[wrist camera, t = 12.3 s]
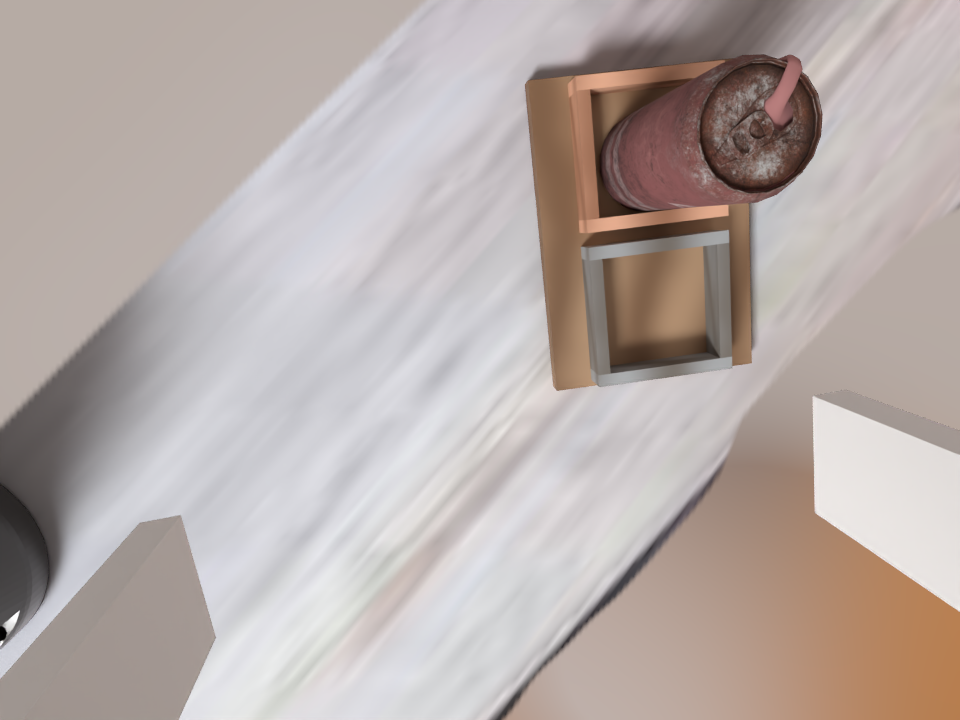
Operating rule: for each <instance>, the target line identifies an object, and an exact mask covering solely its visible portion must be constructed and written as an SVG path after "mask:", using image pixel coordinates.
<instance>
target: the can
mask: <svg viewBox="0 0 960 720" xmlns="http://www.w3.org/2000/svg"><path fill="white" fill-rule="evenodd" d="M821 128H822V110H821V105H820V101H819V96H818V93H817V91H816V90H815V88H814V86H813V85H812V83H811V81H810V80H809V78H808V76H806V75H805V74H804V73H803V72H802V65H801V61H800V60H799V59H798V58H797V57H795V56H793V55H787V56H784V57H782V58H780V59H777V58H773V57H770V56H767V55H742V56H739V57H737V58H734V59H731V60H729V61H726V62H724V63H721V64H719V65H718V66H716V67H714V68H712V69H710V70H709V71H707V72H705V73H703V74H701V75H700V76H698V77H696V78H694V79H692V80H691V81H689V82H687V83H685V84H683V85H682V86H680V87H678V88H676V89H674V90H673V91H671V92H669V93H667V94H665V95H664V96H662V97H660V98H658V99H656V100H655V101H653V102H651V103H649V104H647V105H646V106H644V107H642V108H640V109H638V110H637V111H635V112H633V113H631V114H629V115H628V116H626V117H624V118H623V119H622V120H621V121H619V122H618V123H617V124H616V125H615V126H613V128H612V129H611V131H610V132H609V134H608V135H607V137H606V138H605V140H604V142H603V146H602V149H601V153H600V175H601V178H602V181H603V184H604V187H605V188H606V190H607V191H608V192H609V194H610V195H611V197H612V198H613V199H614V200H615V201H617V202H618V203H620V204H621V205H622V206H624V207H626V208H629V209H632V210H636V211H654V210H666V209H679V208H692V207H705V206H717V205H730V204H743V203H755V202H759V201H762V200H764V199H767V198H769V197H772V196H774V195H777V194H778V193H779V192H781V191H782V190H783V189H784V188H786V187H787V186H788V185H789V184H791V183H792V182H793V181H794V180H795V179H796V177H797V176H799V175H800V174H801V173H802V172H803V170H804V169H805V168H806V166H807V165H808V163H809V162H810V160H811V159H812V158H813V156H814V154H815V151H816V148H817V145H818V143H819V140H820V137H821Z"/></svg>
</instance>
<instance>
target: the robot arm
mask: <svg viewBox="0 0 960 720" xmlns="http://www.w3.org/2000/svg"><path fill="white" fill-rule="evenodd" d="M813 432H814V433H813V434H814V435H813V437H814V489H815V513H816V514H818V515H819V516H820V517H822V518H824V519H825V520H826V521H828V522H829V523H831V524H832V525H834V526H835V527H837V528H838V529H840V530H841V531H842V532H844V533H845V534H847V535H848V536H850V537H851V538H853V539H854V540H856V541H857V542H859V543H860V544H861V545H863V546H864V547H866V548H868V549H869V550H870V551H872V552H873V553H875V554H876V555H878V556H879V557H881V558H882V559H883V560H885V561H886V562H888V563H889V564H891V565H892V566H894V567H895V568H897V569H898V570H900V571H901V572H903V573H904V574H905V575H907V576H908V577H910V578H911V579H913V580H914V581H916V582H917V583H919V584H920V585H922V586H923V587H924V588H926V589H927V590H929V591H930V592H932V593H933V594H935V595H936V596H938V597H939V598H941V599H942V600H943V601H945V602H946V603H948V604H949V605H951V606H952V607H954V608H955V609H957V610H958V611H960V430H957V429H954V428H951V427H949V426H946V425H943V424H940V423H938V422H935V421H932V420H929V419H926V418H924V417H920V416H918V415H915V414H913V413H910V412H907V411H904V410H901V409H899V408H895V407H893V406H890V405H887V404H884V403H882V402H879V401H876V400H873V399H871V398H868V397H865V396H862V395H860V394H857V393H854V392H851V391H848V390H841V391H836V392H830V393H825V394H820V395H815V396H813ZM48 573H49V567H48V556H47V551H46V547H45V543H44V540H43V538H42V535H41V533H40V531H39V528H38V527H37V525H36V523H35V521H34V520H33V518H32V517H31V515H30V514H29V512H28V511H27V510H26V508H25V507H24V506H23V505H22V504H21V503H20V502H19V501H18V500H17V499H16V498H15V497H14V496H13V495H12V494H11V493H10V492H9V491H8V490H6V489H5V488H4V487H3V486H1V485H0V649H1V648H3V647H4V646H5V645H6V644H7V643H8V642H9V641H10V640H11V639H12V638H13V637H14V636H15V635H16V634H17V633H18V632H19V631H20V630H21V629H22V628H23V627H24V626H25V625H26V624H27V623H28V622H29V621H30V620H31V618H32V617H33V616H34V614H35V613H36V611H37V609H38V608H39V606H40V604H41V602H42V600H43V597H44V594H45V591H46V587H47V582H48ZM215 638H216V636H215V633H214V629H213V626H212V622H211V619H210V615H209V612H208V609H207V605H206V602H205V598H204V595H203V591H202V588H201V584H200V581H199V577H198V574H197V570H196V567H195V563H194V560H193V556H192V553H191V549H190V546H189V542H188V539H187V535H186V532H185V528H184V525H183V522H182V518H181V515H179V516H174V517H169V518H163V519H158V520H153V521H148V522H142V523H139V524H138V525H137V527H136V528H135V529H134V530H133V531H132V532H131V533H130V534H129V536H128V537H127V538H126V539H125V540H124V541H123V542H122V543H121V545H120V546H119V547H118V548H117V549H116V550H115V551H114V552H113V553H112V555H111V556H110V557H109V558H108V559H107V560H106V561H105V562H104V564H103V565H102V566H101V567H100V568H99V569H98V570H97V571H96V573H95V574H94V575H93V576H92V577H91V578H90V579H89V580H88V582H87V583H86V584H85V585H84V586H83V587H82V588H81V589H80V591H79V592H78V593H77V594H76V595H75V596H74V597H73V598H72V599H71V601H70V602H69V603H68V604H67V605H66V606H65V607H64V608H63V610H62V611H61V612H60V613H59V614H58V615H57V616H56V617H55V619H54V620H53V621H52V622H51V623H50V624H49V625H48V626H47V628H46V629H45V630H44V631H43V632H42V633H41V634H40V635H39V637H38V638H37V639H36V640H35V641H34V642H33V643H32V644H31V645H30V647H29V648H28V649H27V650H26V651H25V652H24V653H23V654H22V656H21V657H20V658H19V659H18V660H17V661H16V662H15V663H14V665H13V666H12V667H11V668H10V669H9V670H8V671H7V672H6V674H5V675H4V676H3V677H2V678H1V679H0V720H179V718H180V715H181V713H182V711H183V709H184V707H185V704H186V702H187V700H188V698H189V696H190V693H191V691H192V689H193V687H194V685H195V682H196V680H197V678H198V676H199V674H200V671H201V669H202V667H203V665H204V663H205V660H206V658H207V656H208V654H209V652H210V649H211V647H212V645H213V643H214V641H215Z"/></svg>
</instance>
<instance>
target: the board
mask: <svg viewBox="0 0 960 720" xmlns="http://www.w3.org/2000/svg"><path fill="white" fill-rule="evenodd" d="M732 59H734V58H732ZM729 60H731V59H723V60H713V61H704V62H695V63H686V64H676V65H667V66H658V67H648V68H639V69H630V70H621V71H611V72H602V73H593V74H583V75H574V76H565V77H556V78H546V79H537V80H528V81H527V83H526V84H525V91H526V101H527V112H528V122H529V133H530V143H531V154H532V165H533V175H534V186H535V196H536V207H537V217H538V228H539V238H540V249H541V260H542V270H543V281H544V291H545V302H546V312H547V323H548V333H549V344H550V355H551V365H552V376H553V386H554V387H555V389H556V390H557V391H559V390H566V389H573V388H580V387H587V386H594V385H598V386H599V387H604V386H611V385H618V384H625V383H632V382H639V381H646V380H653V379H660V378H667V377H674V376H681V375H688V374H695V373H702V372H709V371H716V370H723V369H730V368H732V366H735V365H742V364H749V363H752V357H751V297H750V238H749V203H743V204H730V205H717V206H705V207H692V208H679V209H666V210H654V211H636V210H632V209H629V208H626V207H624V206H622V205H621V204H620V203H618V202H617V201H615V200H614V199H613V198H612V197H611V195H610V194H609V192H608V191H607V190H606V188H605V187H604V184H603V181H602V178H601V175H600V153H601V149H602V146H603V142H604V140H605V138H606V137H607V135H608V134H609V132H610V131H611V129H612V128H613V126H615V125H616V124H617V123H618V122H619V121H621V120H622V119H623V118H624V117H626V116H628V115H629V114H631V113H633V112H635V111H637V110H638V109H640V108H642V107H644V106H646V105H647V104H649V103H651V102H653V101H655V100H656V99H658V98H660V97H662V96H664V95H665V94H667V93H669V92H671V91H673V90H674V89H676V88H678V87H680V86H682V85H683V84H685V83H687V82H689V81H691V80H692V79H694V78H696V77H698V76H700V75H701V74H703V73H705V72H707V71H709V70H710V69H712V68H714V67H716V66H718V65H719V64H721V63H724V62H726V61H729Z"/></svg>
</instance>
